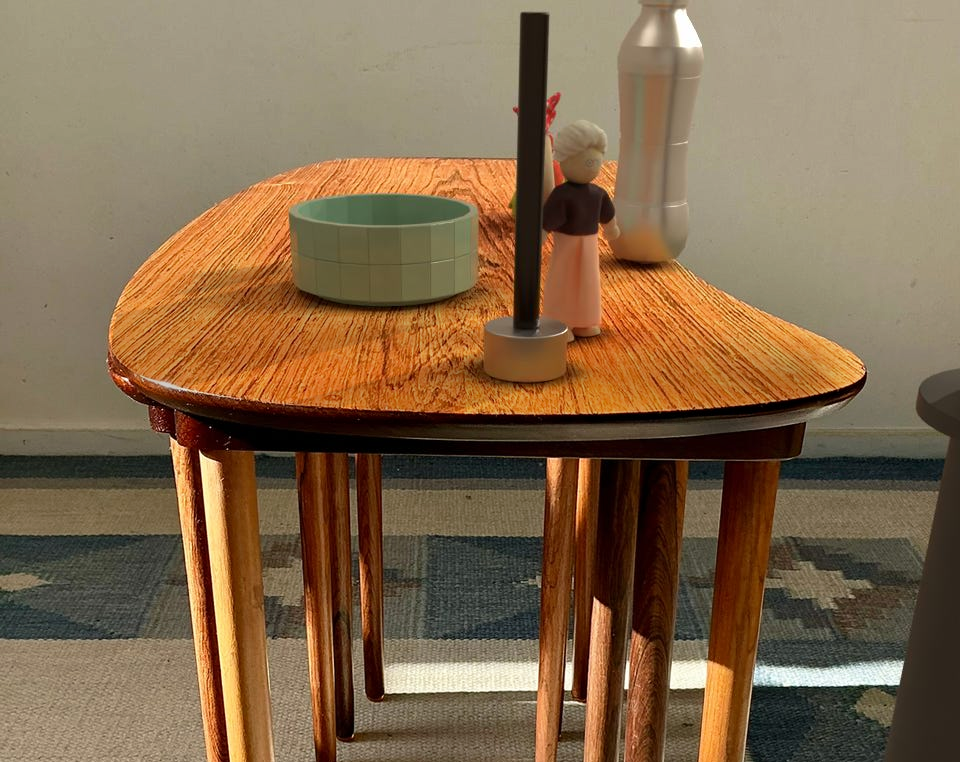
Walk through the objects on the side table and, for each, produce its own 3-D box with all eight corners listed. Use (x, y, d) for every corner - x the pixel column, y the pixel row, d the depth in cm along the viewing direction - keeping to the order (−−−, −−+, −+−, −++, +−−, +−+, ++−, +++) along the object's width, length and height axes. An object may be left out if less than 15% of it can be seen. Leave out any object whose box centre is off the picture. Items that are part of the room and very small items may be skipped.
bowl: (496, 274, 93) (497, 198, 90) (449, 317, 81) (449, 231, 79) (331, 263, 95) (328, 189, 93) (265, 303, 84) (259, 220, 82)
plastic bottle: (676, 252, 100) (700, -25, 91) (694, 270, 94) (721, -23, 85) (598, 252, 100) (613, -25, 90) (611, 271, 94) (629, -24, 84)
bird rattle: (582, 251, 110) (571, 193, 116) (595, 137, 101) (583, 80, 107) (513, 252, 110) (505, 194, 115) (520, 137, 101) (511, 80, 106)
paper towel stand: (572, 362, 73) (589, 11, 64) (557, 386, 68) (572, 14, 60) (494, 355, 74) (500, 9, 65) (474, 378, 69) (477, 12, 61)
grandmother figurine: (564, 351, 74) (574, 128, 68) (513, 341, 76) (518, 122, 70) (630, 326, 80) (644, 116, 74) (580, 316, 82) (591, 112, 76)
